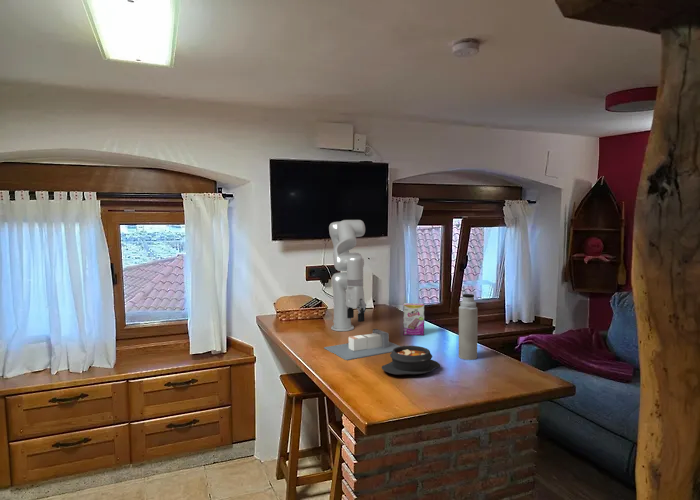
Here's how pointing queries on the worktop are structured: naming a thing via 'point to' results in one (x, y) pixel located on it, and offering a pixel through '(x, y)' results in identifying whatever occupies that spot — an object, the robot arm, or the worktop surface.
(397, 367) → the casserole
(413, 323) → the candy bar box
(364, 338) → the white and peach box
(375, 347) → the grey board with blocks
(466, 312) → the thermos bottle
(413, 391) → the worktop surface
